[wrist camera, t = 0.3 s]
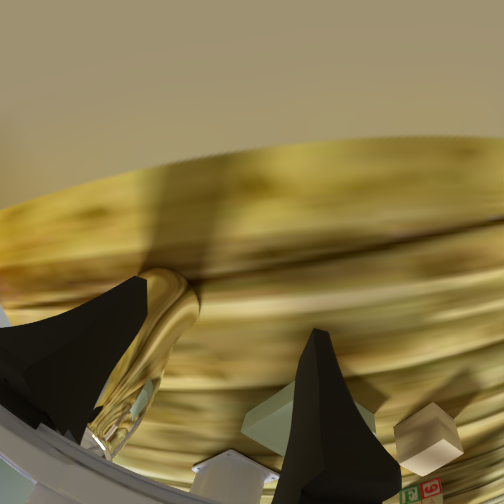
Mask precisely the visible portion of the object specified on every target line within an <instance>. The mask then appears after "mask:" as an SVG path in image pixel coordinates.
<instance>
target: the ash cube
mask: <svg viewBox="0 0 504 504" xmlns="http://www.w3.org/2000/svg"><path fill="white" fill-rule="evenodd" d="M393 428H394V435H395V442H396V449H397V457H398V464H399V465H400V466H402V467H404V468H406V469H408V470H410V471H412V472H414V473H416V474H418V475H420V476H422V477H423V476H425V475H427V474H429V473H431V472H433V471H434V470H436V469H438V468H440V467H442V466H443V465H445V464H447V463H449V462H450V461H452V460H454V459H455V458H457V457H459V456H460V455H462V454H464V452H463V449H462V445H461V442H460V438H459V435H458V432H457V428H456V425H455V422H454V419H453V418H452V417H451V416H449V415H448V414H447V413H446V412H445V411H443V410H442V409H441V408H440V407H439V406H438V405H436V404H435V403H434V402H432V403H430V404H429V405H427V406H426V407H424V408H423V409H421V410H420V411H418V412H417V413H415V414H414V415H412V416H411V417H409V418H408V419H406V420H404V421H403V422H401V423H400V424H398V425H396V426H395V427H393Z"/></svg>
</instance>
